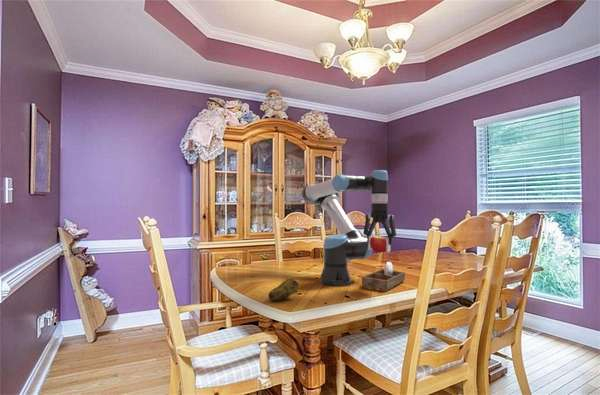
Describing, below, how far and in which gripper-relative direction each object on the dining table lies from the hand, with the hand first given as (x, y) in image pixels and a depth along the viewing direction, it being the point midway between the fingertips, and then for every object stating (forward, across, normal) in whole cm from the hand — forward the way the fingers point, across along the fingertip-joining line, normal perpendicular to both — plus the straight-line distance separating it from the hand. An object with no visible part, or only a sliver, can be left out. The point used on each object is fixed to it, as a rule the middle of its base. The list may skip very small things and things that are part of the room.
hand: (379, 250), depth 154 cm
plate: (+16, 0, +12) cm, 20 cm away
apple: (+1, 0, 0) cm, 1 cm away
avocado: (+18, -22, -44) cm, 52 cm away
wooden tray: (+17, 0, +6) cm, 18 cm away
